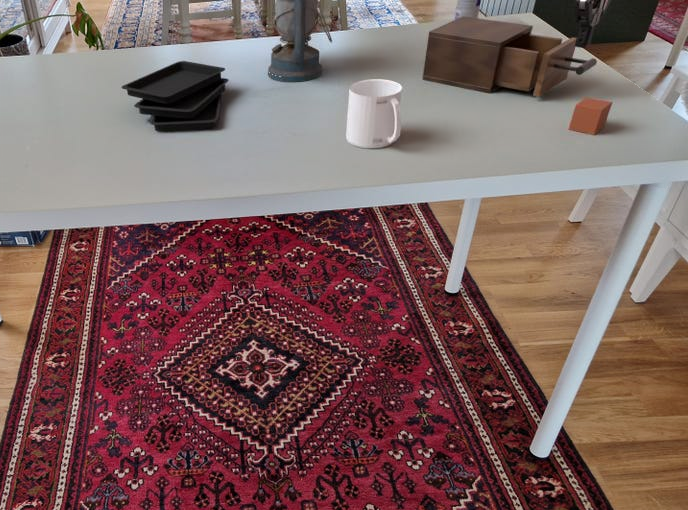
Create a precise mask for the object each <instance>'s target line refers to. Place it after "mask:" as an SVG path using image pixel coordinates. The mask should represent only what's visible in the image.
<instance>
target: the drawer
mask: <svg viewBox="0 0 688 510" xmlns="http://www.w3.org/2000/svg"><path fill="white" fill-rule="evenodd" d="M576 39H577V37H570V38H569V39H567V40H565V41H564V42H563V38H561V37H560V38H559V37H553V36H546V35H540V34H534V33H533V34H532V33H531V34H524V35H522V36H520V37H518V38H517V39H515V40H513V41H511V42H509V43H507V44H505V45H503V46H502V48H501V53H500V57H499V62H498V67H497V71H496V76H495V81H494V85H497V86H502V87H503V88H507V89H513V90H518V91H524V92H530V91H532V90H533V89H534V90H533V93H532V96H533V97H537V98H539V97H541V96H543V95H544V94H546V93H547V92H549V91H550V90H552V89H553V88H555V87H556V86H558V85H559V84H561V83H563V82H564V81H566V80H567V78H568V74H569V71H570V72H571V71H572V72H575V74H576V75H578V76H581V75H583V74H584V73H586V72H587V71H589V70H591V69H592V68H593V67H595V66H596V65H597V63H598V60H597V59H596V58H593V57H592V58H590V59H588V60H587V59H583V58H582V59H581V58H576V57H574V54H575V50H576V48H577V47H576V46H575V42H576ZM572 63H576V64H581V65H579V66H572V65H571V64H572Z"/></svg>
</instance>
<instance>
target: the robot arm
mask: <svg viewBox="0 0 688 510" xmlns="http://www.w3.org/2000/svg"><path fill="white" fill-rule="evenodd" d="M611 1H612V0H575V1H574V13H575V15H574V17H575V24H577V25H578V26H579V28H578V32H577V34H576V38H577V39H576V42H575V46H576V47H575V48H581V49H586V48H587V47H589V46H590V45H591V43H592V38H593V35H594V31H595V28H596V25H598V24H599V22H600V20H602V19H603V18H604V17H605V16H604V15H605V13H606V12H607V9H608V7H609V6H610V4H611Z"/></svg>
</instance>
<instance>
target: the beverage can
mask: <svg viewBox="0 0 688 510" xmlns="http://www.w3.org/2000/svg"><path fill="white" fill-rule="evenodd" d="M481 4H482V0H456V7H455V13H454V17H453V18H454V19H453V21H454V20H456V19H458V18H460V17H463V16H464V17H471V18H478V19H479V14H480V13H479V12H480V9H481Z"/></svg>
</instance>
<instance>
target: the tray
mask: <svg viewBox="0 0 688 510" xmlns="http://www.w3.org/2000/svg"><path fill="white" fill-rule="evenodd" d="M225 71H226V68H225V67H222V66H216V65H210V64H206V63H205V64H203V63H198V62H192V61H186V60H179V61H176V62H174V63H171V64H170V65H167V66H165V67H163V68H160V69H158V70H155V71H153V72H151V73H149V74H146V75H144V76H142V77H140V78H138V79H135V80H132V81H130V82H128V83H126V84H124V85H122V86H121V89H123V90H126V92H127V96H129V97H133V98H137V99H140V100H139V101H137V102H136V103H135V104H134V106H133V107H134V108H136V109H138V110H139V114H141V115H146V116H152V117H151V120H150V125H152V126H153V127H154V130H155V131H156V132H174V131H175V132H176V131H198V130H212V129H215V128H217V124H218V120H219V115H220V108H221V103H222V96H223V93H224V92H225V91H226V84H227V83H229V81H230V79H228V78H225V77H222V73H223V72H225Z"/></svg>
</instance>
